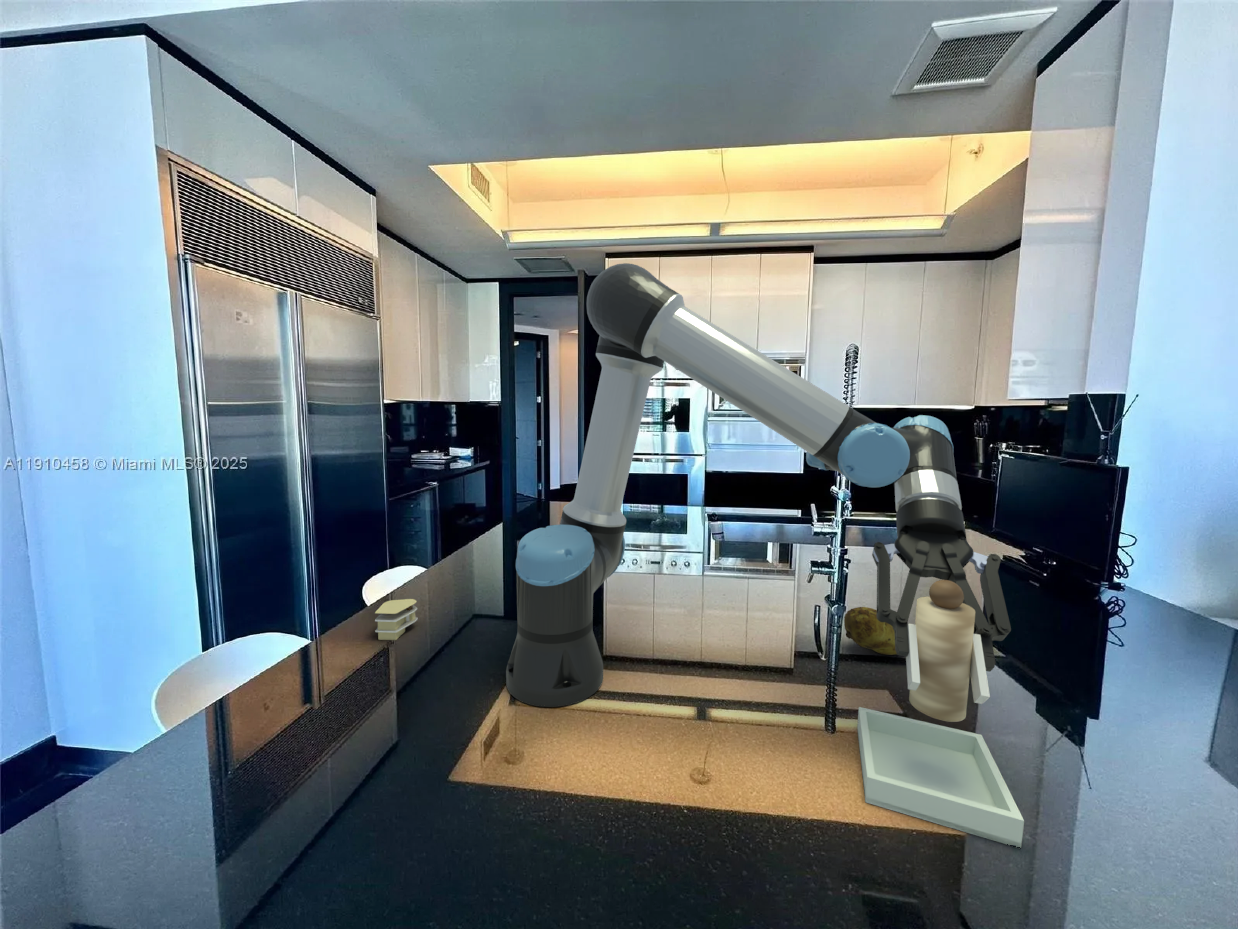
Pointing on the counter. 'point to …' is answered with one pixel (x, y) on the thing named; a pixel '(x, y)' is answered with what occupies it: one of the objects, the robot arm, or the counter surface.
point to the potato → (869, 630)
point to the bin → (936, 776)
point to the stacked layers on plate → (395, 618)
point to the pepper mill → (943, 652)
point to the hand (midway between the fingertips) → (947, 692)
